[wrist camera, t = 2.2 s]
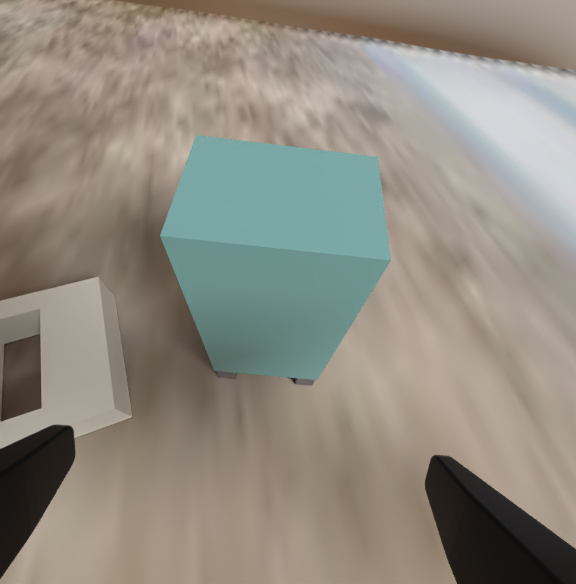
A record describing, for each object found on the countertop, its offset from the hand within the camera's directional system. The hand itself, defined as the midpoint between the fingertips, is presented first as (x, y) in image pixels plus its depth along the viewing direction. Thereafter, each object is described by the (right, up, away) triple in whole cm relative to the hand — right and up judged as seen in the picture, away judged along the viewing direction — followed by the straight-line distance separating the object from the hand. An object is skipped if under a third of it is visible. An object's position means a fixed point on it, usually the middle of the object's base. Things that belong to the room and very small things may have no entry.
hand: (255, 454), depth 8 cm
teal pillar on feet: (0, 0, +12) cm, 12 cm away
